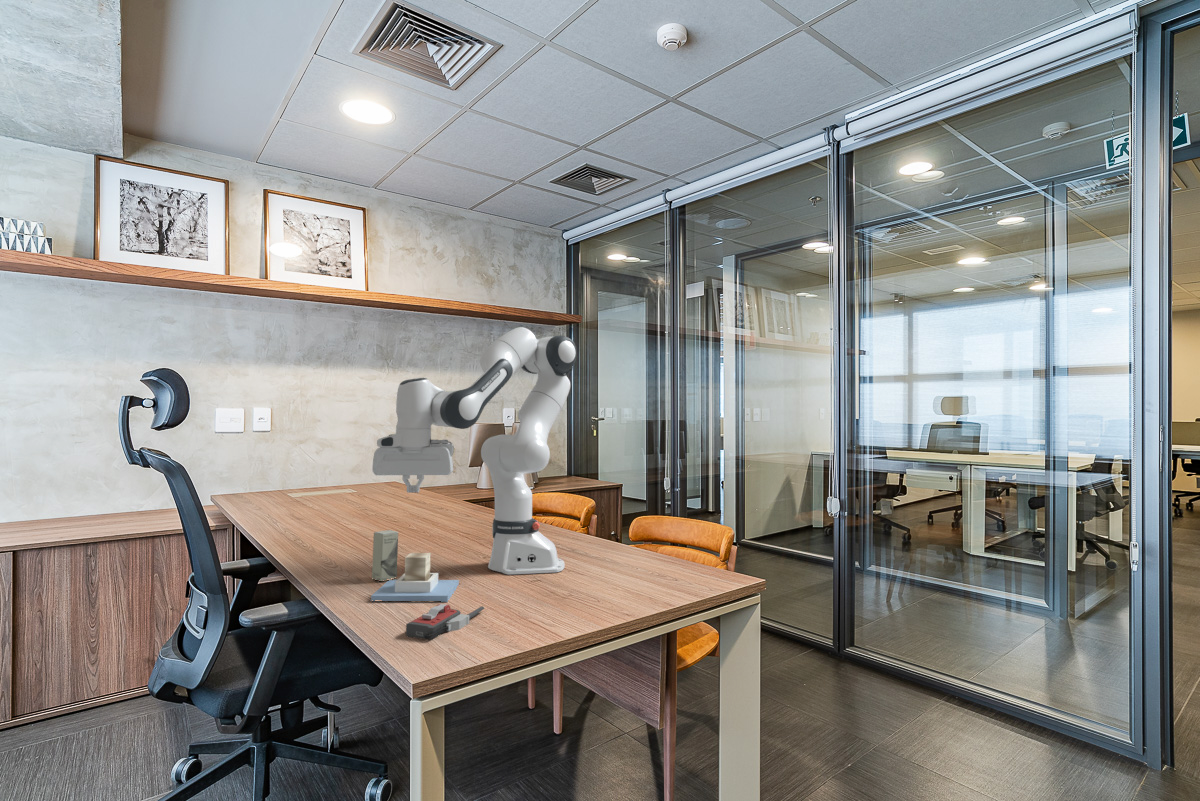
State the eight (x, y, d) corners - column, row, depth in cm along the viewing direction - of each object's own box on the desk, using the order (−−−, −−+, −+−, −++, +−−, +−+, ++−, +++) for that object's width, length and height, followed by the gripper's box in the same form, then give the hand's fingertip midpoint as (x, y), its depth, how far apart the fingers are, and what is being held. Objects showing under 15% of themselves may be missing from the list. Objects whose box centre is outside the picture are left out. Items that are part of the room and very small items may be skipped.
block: (429, 584, 153) (430, 553, 153) (424, 590, 148) (425, 557, 148) (409, 584, 153) (410, 552, 153) (404, 590, 148) (405, 557, 148)
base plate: (458, 585, 158) (459, 570, 158) (447, 602, 144) (447, 585, 144) (389, 585, 157) (389, 570, 157) (371, 602, 143) (371, 585, 143)
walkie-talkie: (437, 646, 118) (487, 614, 137) (438, 623, 118) (487, 594, 137) (399, 640, 120) (453, 610, 139) (400, 617, 121) (453, 590, 140)
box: (380, 582, 160) (381, 534, 160) (371, 580, 162) (372, 532, 163) (398, 578, 164) (399, 531, 164) (388, 576, 166) (389, 529, 167)
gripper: (455, 439, 162) (455, 490, 162) (378, 439, 160) (377, 491, 160) (451, 440, 156) (451, 493, 155) (370, 440, 154) (370, 494, 154)
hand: (413, 492), depth 158 cm, fingers closed
